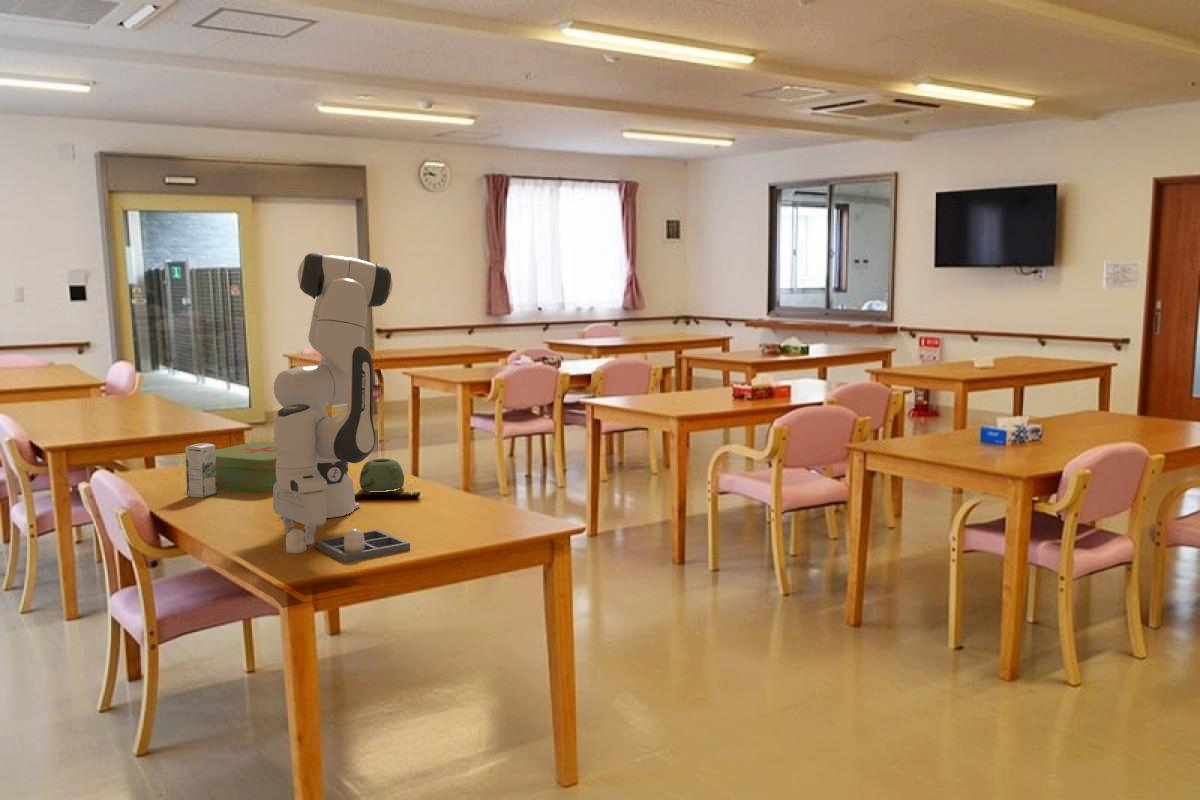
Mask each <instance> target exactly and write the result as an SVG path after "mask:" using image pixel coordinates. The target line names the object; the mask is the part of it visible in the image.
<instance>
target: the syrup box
mask: <svg viewBox="0 0 1200 800" xmlns="http://www.w3.org/2000/svg"><path fill="white" fill-rule="evenodd" d="M184 448H185V471H186V472H185V473H186V497H188V498H189V497H190V498H200V499H201V498H203V499H204V498H207V497H211V496H213V495H217V494H218V493H217V491H218V489H217V483H216V453H215V450H216V445H215V444H212V443H206V442H203V443H195V444H191V445H187V446H185V447H184Z"/></svg>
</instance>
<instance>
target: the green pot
mask: <svg viewBox="0 0 1200 800" xmlns="http://www.w3.org/2000/svg"><path fill="white" fill-rule="evenodd" d="M404 483H405V475H404V471H403V468H402V466H401V464H400V463H399V462H398V461H397V460H395V459H391V458H374V459H371V460H368V461H366V462H365V464H363V466H362V469H361V471H360V474H359V486H360V489H361V490H363V491H364V490H365V491H364V492H366V491H386V490H394V489H398V488H401V487H402V486H403V487H404V485H405V484H404ZM403 487H402V488H403ZM402 488H401V489H402Z"/></svg>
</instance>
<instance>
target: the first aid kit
mask: <svg viewBox="0 0 1200 800" xmlns="http://www.w3.org/2000/svg"><path fill="white" fill-rule="evenodd" d="M215 453H216V483H217V490H223V491H233V492H234V491H235V492H246V493H255V494H256V493H257V494H270V493H273V488H274V484H275V483H276V466H275V465H276V460H277V453H276V450H275V446H274V442H270V441H253V442H248V443H243V444H237V445H234V446H233V445H232V446H229V447H225V448H221V449H220V448H219V449H215Z"/></svg>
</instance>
